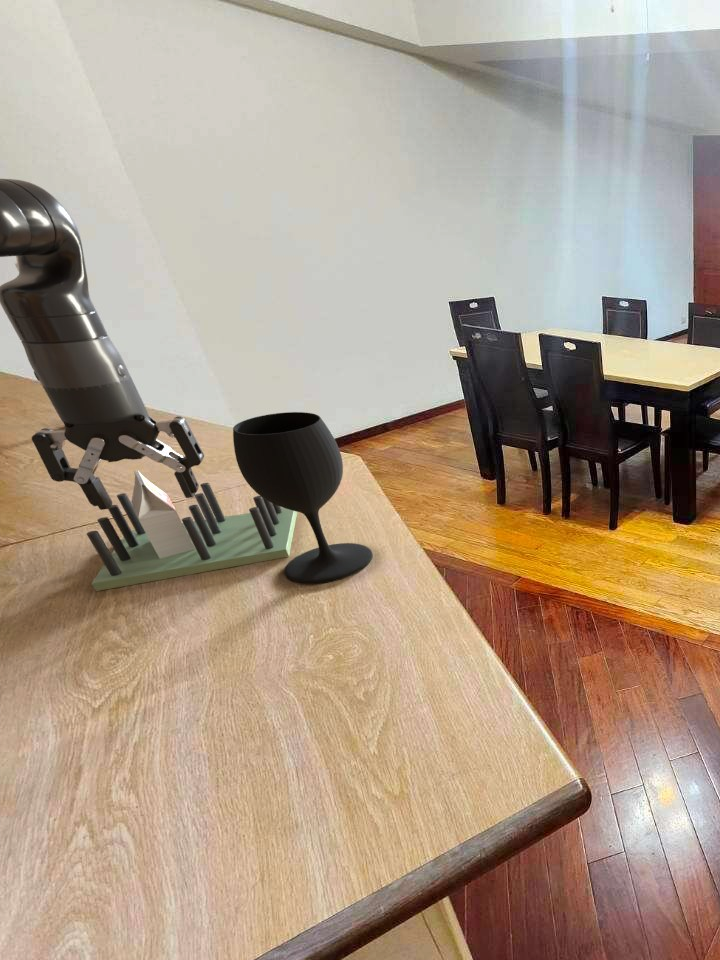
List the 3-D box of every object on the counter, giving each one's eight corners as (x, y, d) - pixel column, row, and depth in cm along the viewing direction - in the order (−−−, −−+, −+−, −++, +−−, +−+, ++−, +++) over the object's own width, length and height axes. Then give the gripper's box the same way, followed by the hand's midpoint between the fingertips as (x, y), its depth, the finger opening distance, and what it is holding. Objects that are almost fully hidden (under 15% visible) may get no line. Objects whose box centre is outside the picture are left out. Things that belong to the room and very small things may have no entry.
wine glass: (363, 579, 78) (314, 434, 68) (272, 589, 75) (206, 439, 65) (380, 541, 86) (338, 408, 76) (299, 549, 84) (244, 411, 74)
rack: (96, 591, 73) (65, 541, 70) (130, 538, 84) (105, 492, 81) (289, 556, 82) (270, 510, 78) (297, 512, 93) (281, 470, 90)
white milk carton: (159, 558, 78) (122, 489, 73) (151, 540, 82) (116, 474, 77) (195, 549, 80) (161, 482, 75) (185, 532, 84) (153, 467, 79)
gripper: (171, 366, 75) (222, 482, 84) (15, 374, 69) (86, 499, 77) (156, 379, 70) (212, 503, 78) (-15, 390, 64) (65, 523, 72)
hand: (149, 501), depth 78 cm, fingers open, 8 cm apart
